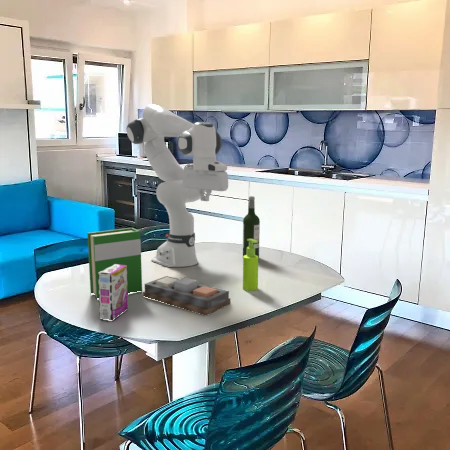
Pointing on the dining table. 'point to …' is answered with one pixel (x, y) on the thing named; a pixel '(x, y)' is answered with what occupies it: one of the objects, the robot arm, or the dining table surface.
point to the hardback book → (115, 256)
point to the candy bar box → (113, 291)
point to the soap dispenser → (250, 268)
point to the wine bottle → (251, 227)
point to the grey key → (185, 284)
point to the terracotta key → (205, 291)
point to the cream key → (166, 282)
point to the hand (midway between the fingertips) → (204, 200)
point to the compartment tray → (187, 298)
